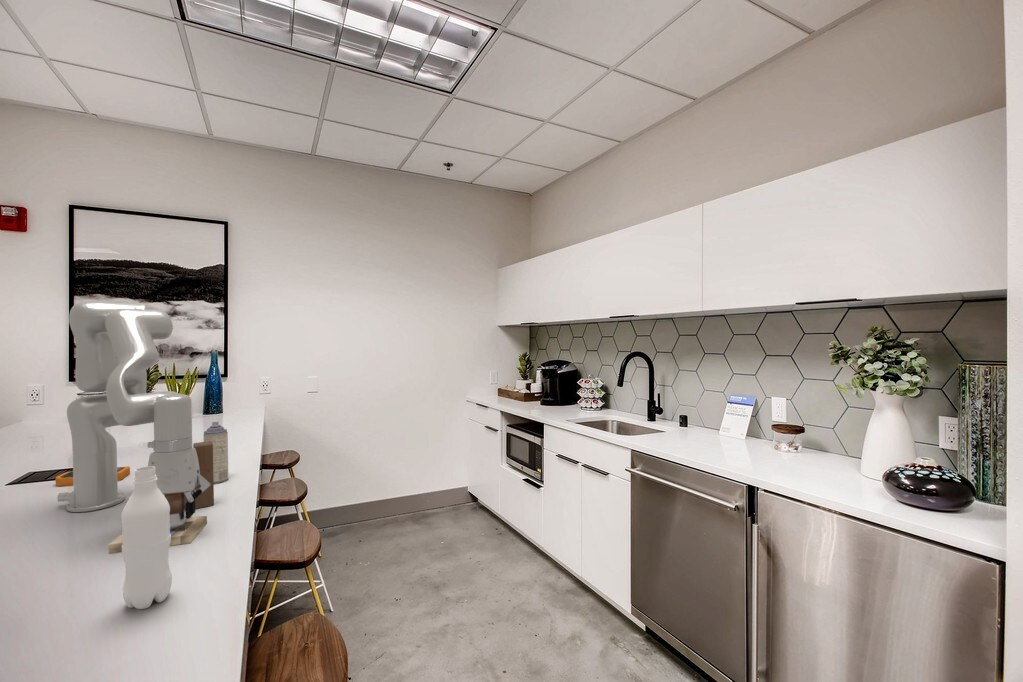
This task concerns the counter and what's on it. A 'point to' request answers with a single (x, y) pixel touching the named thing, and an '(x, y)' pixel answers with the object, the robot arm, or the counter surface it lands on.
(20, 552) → the counter surface
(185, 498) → the wooden block
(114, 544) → the board
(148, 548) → the water bottle
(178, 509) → the two-tone cylinder
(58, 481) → the multimeter
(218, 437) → the aerosol can
